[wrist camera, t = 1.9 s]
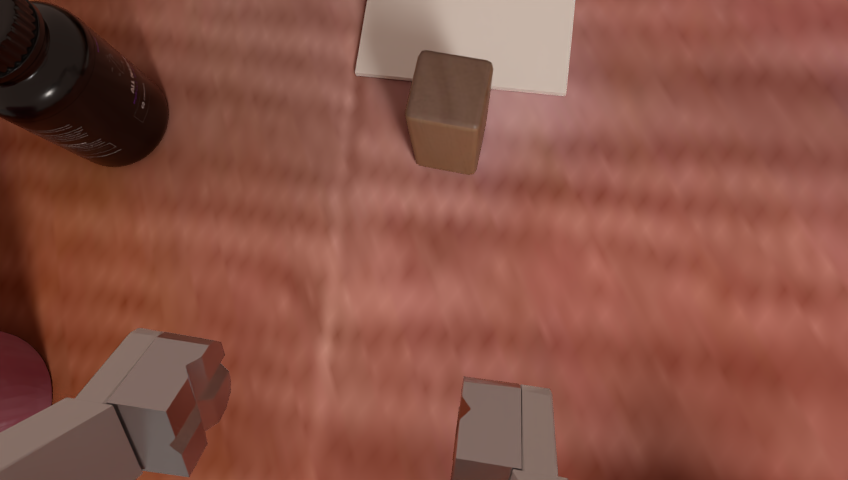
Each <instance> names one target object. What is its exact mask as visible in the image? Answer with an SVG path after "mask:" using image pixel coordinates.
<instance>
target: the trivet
mask: <svg viewBox="0 0 848 480" xmlns="http://www.w3.org/2000/svg"><path fill="white" fill-rule="evenodd" d="M574 9H575V0H367V4H366V10H365V16H364V22H363V28H362V34H361V40H360V46H359V51H358V57H357V63H356V69H355V74H356V76H366V77H376V78H386V79H396V80H406V81H412V80H413V75H414V71H415V67H416V63H417V58H418V56H419V54H420V53H421V51H423V50H429V51H435V52H441V53H447V54H453V55H459V56H465V57H471V58H477V59H483V60H488V61H490V62H491V63H492V65H493V76H492V83H491V89H497V90H507V91H517V92H527V93H537V94H547V95H557V96H565V95H566V90H567V80H568V70H569V59H570V49H571V39H572V29H573V19H574Z"/></svg>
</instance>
